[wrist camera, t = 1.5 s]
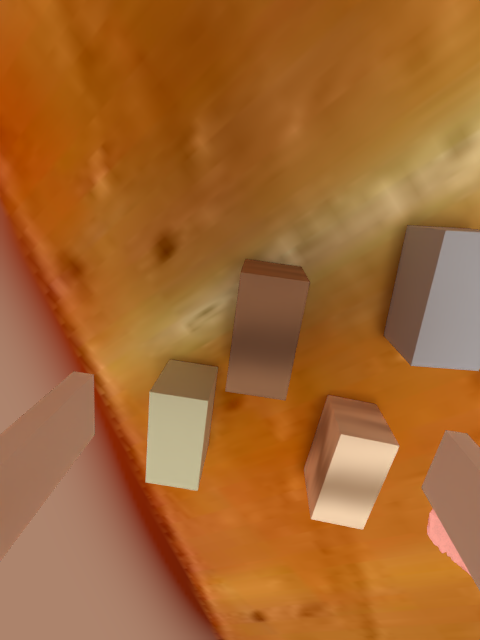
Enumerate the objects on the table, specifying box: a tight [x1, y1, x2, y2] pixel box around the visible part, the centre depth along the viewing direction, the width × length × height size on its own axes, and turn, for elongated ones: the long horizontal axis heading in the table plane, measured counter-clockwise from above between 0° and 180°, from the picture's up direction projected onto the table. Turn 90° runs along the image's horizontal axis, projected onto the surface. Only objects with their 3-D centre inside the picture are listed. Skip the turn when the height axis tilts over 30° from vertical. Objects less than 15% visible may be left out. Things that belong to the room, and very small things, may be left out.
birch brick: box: [304, 395, 399, 530], centre depth 25 cm, size 8×4×5 cm, turn 170°
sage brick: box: [146, 360, 218, 491], centre depth 25 cm, size 8×4×5 cm, turn 172°
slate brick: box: [384, 225, 480, 371], centre depth 21 cm, size 8×4×5 cm, turn 177°
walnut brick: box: [226, 259, 310, 400], centre depth 22 cm, size 8×4×5 cm, turn 173°
